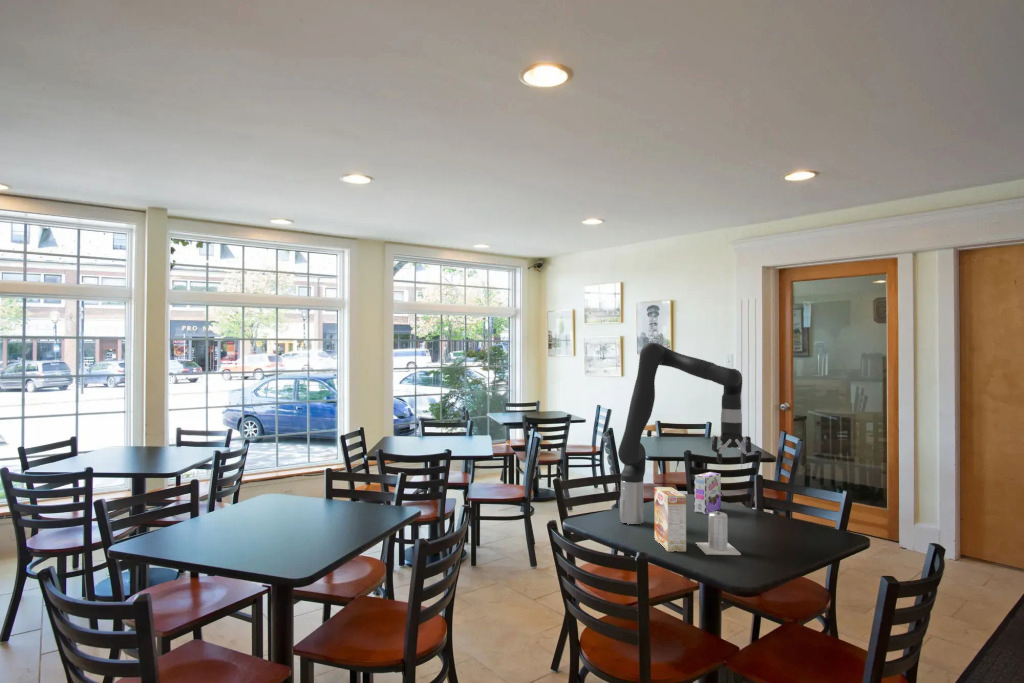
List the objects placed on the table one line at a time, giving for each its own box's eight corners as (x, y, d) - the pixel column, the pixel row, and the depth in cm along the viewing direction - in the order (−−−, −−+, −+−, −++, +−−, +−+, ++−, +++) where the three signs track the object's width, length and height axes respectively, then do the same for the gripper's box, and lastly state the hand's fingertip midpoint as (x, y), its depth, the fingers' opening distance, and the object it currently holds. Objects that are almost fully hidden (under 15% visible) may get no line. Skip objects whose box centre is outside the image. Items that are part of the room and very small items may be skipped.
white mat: (706, 554, 203) (706, 553, 203) (695, 543, 215) (695, 542, 215) (740, 555, 203) (740, 553, 203) (728, 544, 215) (728, 542, 215)
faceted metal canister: (711, 550, 206) (711, 513, 206) (706, 545, 212) (706, 509, 212) (729, 550, 206) (729, 513, 206) (723, 545, 212) (723, 509, 212)
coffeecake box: (653, 539, 220) (653, 486, 221) (672, 538, 221) (672, 486, 221) (667, 552, 205) (667, 495, 206) (686, 551, 206) (686, 495, 206)
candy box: (705, 514, 257) (705, 476, 257) (693, 512, 261) (693, 474, 262) (721, 509, 266) (721, 473, 267) (709, 507, 270) (709, 471, 271)
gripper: (715, 421, 221) (716, 465, 220) (754, 422, 220) (754, 465, 220) (709, 419, 228) (709, 461, 227) (746, 420, 228) (746, 462, 227)
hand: (731, 463), depth 224 cm, fingers open, 8 cm apart
